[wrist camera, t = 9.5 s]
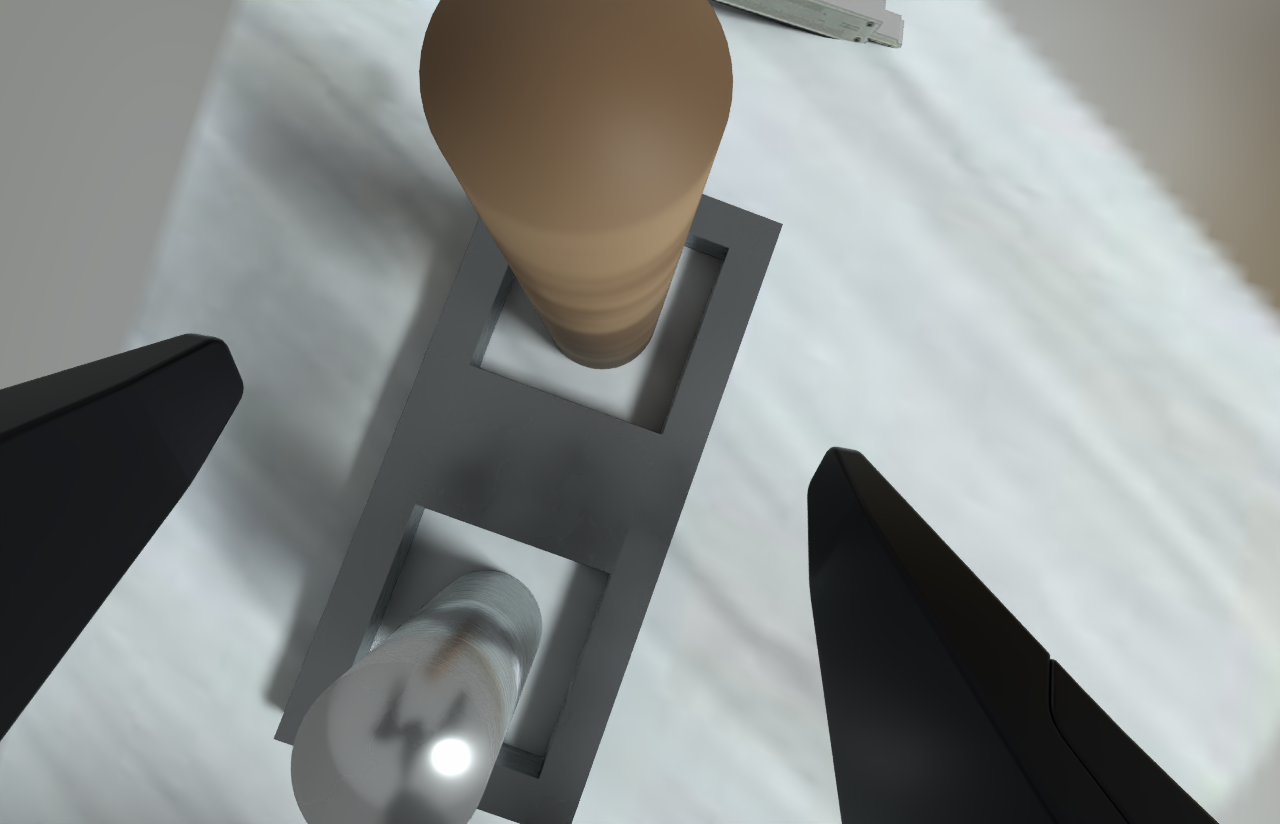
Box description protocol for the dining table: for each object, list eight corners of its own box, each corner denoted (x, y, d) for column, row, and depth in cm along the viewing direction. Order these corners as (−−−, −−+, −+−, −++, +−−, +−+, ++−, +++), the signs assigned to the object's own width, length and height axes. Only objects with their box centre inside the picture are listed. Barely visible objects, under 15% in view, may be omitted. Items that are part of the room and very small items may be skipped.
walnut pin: (656, 369, 20) (734, 231, 7) (547, 368, 20) (416, 226, 7) (655, 262, 20) (731, -66, 7) (547, 261, 20) (422, -79, 7)
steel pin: (518, 701, 19) (448, 891, 11) (410, 664, 19) (260, 826, 11) (558, 592, 19) (517, 699, 11) (452, 554, 19) (335, 635, 11)
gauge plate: (569, 814, 19) (565, 839, 18) (295, 719, 19) (273, 738, 17) (773, 237, 20) (782, 224, 19) (522, 143, 20) (516, 124, 19)
